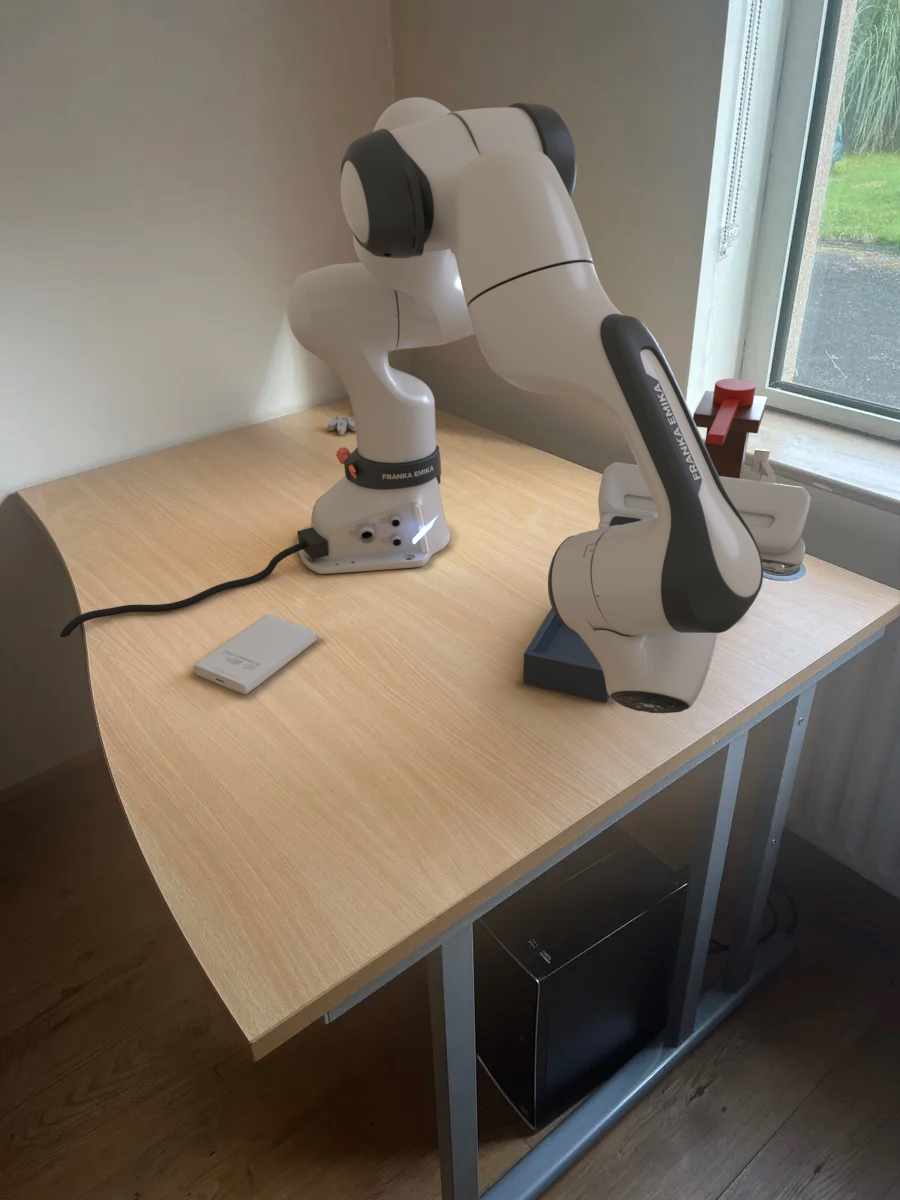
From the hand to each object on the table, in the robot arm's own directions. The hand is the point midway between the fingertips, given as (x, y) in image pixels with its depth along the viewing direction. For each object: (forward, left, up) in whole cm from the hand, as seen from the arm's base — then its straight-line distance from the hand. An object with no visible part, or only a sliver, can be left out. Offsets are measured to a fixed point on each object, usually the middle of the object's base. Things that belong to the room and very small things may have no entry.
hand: (714, 447), depth 89 cm
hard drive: (-49, +15, -25) cm, 57 cm away
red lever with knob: (+4, +5, +1) cm, 7 cm away
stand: (+8, +10, -25) cm, 28 cm away
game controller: (-23, +90, -25) cm, 96 cm away
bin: (-11, +4, -25) cm, 28 cm away
